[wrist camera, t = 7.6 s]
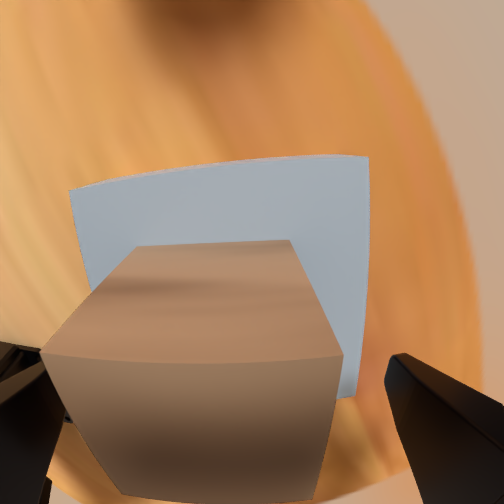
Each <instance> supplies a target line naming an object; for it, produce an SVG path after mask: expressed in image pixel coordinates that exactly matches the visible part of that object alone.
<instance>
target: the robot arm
mask: <svg viewBox="0 0 504 504" xmlns="http://www.w3.org/2000/svg"><path fill="white" fill-rule="evenodd" d="M40 351H41V349H39V348H34V347H28V346H22V345H16V344H11V343H6V342H1V341H0V504H49V498H50V492H51V486H52V480H50V479H49V478H48V477H47V476H46V475H47V471H48V468H49V465H50V462H51V459H52V456H53V453H54V450H55V447H56V444H57V441H58V438H59V435H60V432H61V429H62V425H63V422H67V423H73V420H72V419H71V417H70V415H69V413H68V411H67V410H66V408H65V406H64V404H63V402H62V400H61V398H60V396H59V394H58V392H57V390H56V388H55V386H54V384H53V382H52V380H51V378H50V376H49V373H48V371H47V369H46V367H45V365H44V362H43V360H42V358H41V355H40V353H39V352H40ZM384 385H385V389H386V392H387V396H388V399H389V403H390V407H391V410H392V414H393V418H394V422H395V425H396V429H397V432H398V435H399V437H400V440H401V443H402V445H403V448H404V450H405V453H406V456H407V458H408V461H409V464H410V467H411V469H412V472H413V475H414V477H415V480H416V483H417V486H418V489H419V492H420V495H421V498H422V500H423V504H504V406H503V405H502V404H501V403H499V402H497V401H496V400H494V399H492V398H490V397H488V396H486V395H484V394H482V393H480V392H478V391H476V390H474V389H473V388H471V387H469V386H467V385H465V384H463V383H461V382H459V381H457V380H455V379H454V378H452V377H450V376H448V375H446V374H444V373H442V372H440V371H438V370H437V369H435V368H433V367H431V366H429V365H427V364H425V363H424V362H422V361H420V360H418V359H416V358H414V357H412V356H410V355H409V354H407V353H401V354H394V355H392V356H391V358H390V360H389V364H388V367H387V371H386V374H385V378H384Z"/></svg>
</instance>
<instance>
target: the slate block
mask: <svg viewBox="0 0 504 504" xmlns="http://www.w3.org/2000/svg"><path fill="white" fill-rule="evenodd" d="M69 194H70V200H71V206H72V212H73V217H74V222H75V227H76V232H77V236H78V241H79V245H80V250H81V254H82V258H83V262H84V266H85V270H86V273H87V277H88V281H89V284H90V288H91V291H92V292H93V291H94V290H95V289H96V287H97V286H98V285H99V284H100V283H101V282H102V281H103V280H104V279H105V278H106V277H107V276H108V275H109V274H110V273H111V272H112V271H113V270H114V269H115V268H116V267H117V266H118V265H119V264H120V263H121V262H122V261H123V260H124V259H125V258H126V257H127V256H128V255H129V254H130V253H131V252H132V251H133V250H134V249H135V248H136V247H137V246H155V245H176V244H197V243H220V242H243V241H267V240H290V242H291V244H292V246H293V248H294V250H295V252H296V254H297V256H298V258H299V260H300V262H301V265H302V267H303V269H304V271H305V273H306V275H307V277H308V279H309V281H310V283H311V285H312V287H313V289H314V292H315V294H316V296H317V298H318V300H319V302H320V304H321V306H322V308H323V311H324V313H325V315H326V317H327V319H328V321H329V323H330V326H331V328H332V330H333V332H334V334H335V337H336V339H337V341H338V343H339V345H340V347H341V350H342V352H343V354H344V358H343V364H342V370H341V376H340V382H339V387H338V393H337V398H336V399H340V398H346V397H351V396H355V394H356V387H357V381H358V374H359V367H360V359H361V351H362V343H363V334H364V324H365V313H366V301H367V287H368V269H369V242H370V183H369V157H363V156H353V155H341V154H327V155H304V156H287V157H273V158H260V159H248V160H238V161H228V162H219V163H210V164H202V165H194V166H186V167H179V168H172V169H165V170H159V171H152V172H146V173H140V174H134V175H129V176H123V177H118V178H112V179H108V180H104V181H100V182H97V183H93V184H90V185H86V186H83V187H80V188H76V189H73V190H70V191H69Z"/></svg>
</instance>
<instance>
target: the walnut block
mask: <svg viewBox="0 0 504 504" xmlns="http://www.w3.org/2000/svg"><path fill="white" fill-rule="evenodd" d="M39 353H40V355H41V358H42V360H43V362H44V365H45V367H46V369H47V371H48V373H49V376H50V378H51V380H52V382H53V384H54V386H55V388H56V390H57V392H58V394H59V396H60V398H61V400H62V402H63V404H64V406H65V408H66V410H67V411H68V413H69V415H70V417H71V419H72V420H73V422H74V424H75V426H76V427H77V429H78V431H79V433H80V434H81V436H82V437H83V439H84V441H85V442H86V444H87V446H88V447H89V449H90V450H91V452H92V453H93V455H94V456H95V458H96V459H97V461H98V462H99V464H100V465H101V467H102V468H103V470H104V471H105V472H106V474H107V475H108V477H109V478H110V479H111V481H112V482H113V483H114V485H115V486H116V487H117V489H118V490H119V491H120V492H121V494H124V495H129V496H135V497H141V498H148V499H155V500H162V501H171V502H181V503H194V504H271V503H284V502H295V501H304V500H311V499H312V498H313V495H314V492H315V488H316V484H317V481H318V477H319V473H320V470H321V466H322V462H323V458H324V454H325V450H326V445H327V441H328V437H329V432H330V428H331V423H332V418H333V413H334V408H335V403H336V398H337V393H338V387H339V382H340V376H341V370H342V364H343V358H344V354H343V352H342V350H341V347H340V345H339V343H338V341H337V339H336V337H335V334H334V332H333V330H332V328H331V326H330V323H329V321H328V319H327V317H326V315H325V313H324V311H323V308H322V306H321V304H320V302H319V300H318V298H317V296H316V294H315V292H314V289H313V287H312V285H311V283H310V281H309V279H308V277H307V275H306V273H305V271H304V269H303V267H302V265H301V262H300V260H299V258H298V256H297V254H296V252H295V250H294V248H293V246H292V244H291V242H290V240H267V241H243V242H220V243H197V244H176V245H155V246H137V247H136V248H135V249H134V250H133V251H132V252H131V253H130V254H129V255H128V256H127V257H126V258H125V259H124V260H123V261H122V262H121V263H120V264H119V265H118V266H117V267H116V268H115V269H114V270H113V271H112V272H111V273H110V274H109V275H108V276H107V277H106V278H105V279H104V280H103V281H102V282H101V283H100V284H99V285H98V286H97V287H96V289H95V290H94V291H93V292H92V293H91V294H90V295H89V296H88V297H87V298H86V299H85V300H84V301H83V303H82V304H81V305H80V306H79V307H78V308H77V309H76V310H75V311H74V312H73V314H72V315H71V316H70V317H69V318H68V319H67V320H66V321H65V323H64V324H63V325H62V326H61V327H60V328H59V329H58V331H57V332H56V333H55V334H54V335H53V336H52V338H51V339H50V340H49V341H48V342H47V343H46V345H45V346H44V347H43V348H42V349H41V351H40V352H39Z"/></svg>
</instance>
